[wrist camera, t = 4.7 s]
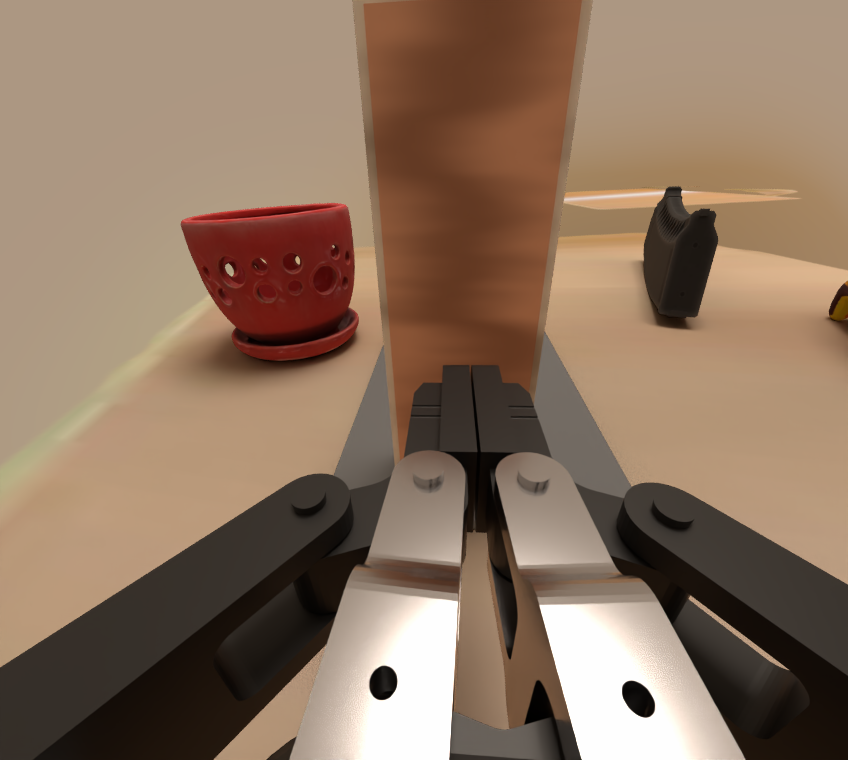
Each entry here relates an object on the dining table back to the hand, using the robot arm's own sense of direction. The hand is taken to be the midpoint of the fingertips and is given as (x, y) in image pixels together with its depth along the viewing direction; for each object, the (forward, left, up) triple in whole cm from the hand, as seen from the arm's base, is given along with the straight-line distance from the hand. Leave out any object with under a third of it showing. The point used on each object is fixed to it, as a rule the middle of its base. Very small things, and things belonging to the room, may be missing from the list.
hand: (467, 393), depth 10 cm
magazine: (-27, -41, -9) cm, 50 cm away
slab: (0, -6, -8) cm, 10 cm away
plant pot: (+15, -24, -9) cm, 30 cm away
